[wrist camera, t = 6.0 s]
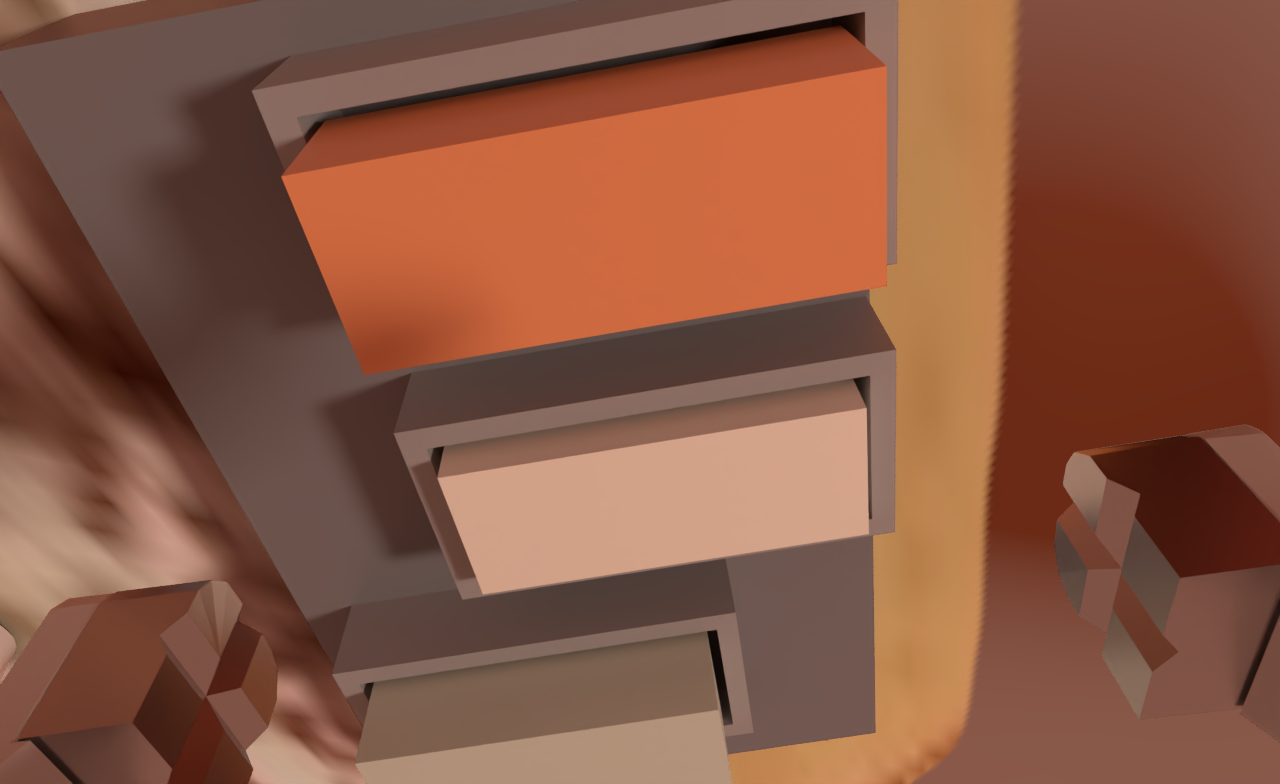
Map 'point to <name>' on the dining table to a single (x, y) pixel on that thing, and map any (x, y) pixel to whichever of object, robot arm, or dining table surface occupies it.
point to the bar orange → (601, 200)
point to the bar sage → (554, 720)
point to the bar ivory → (661, 487)
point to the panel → (452, 390)
